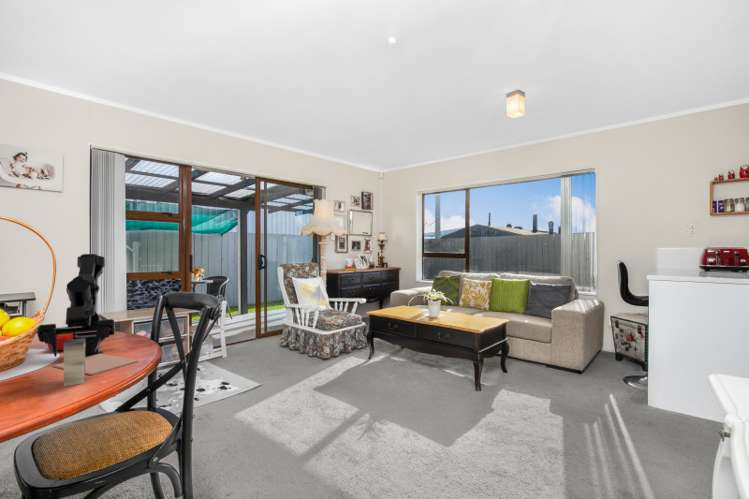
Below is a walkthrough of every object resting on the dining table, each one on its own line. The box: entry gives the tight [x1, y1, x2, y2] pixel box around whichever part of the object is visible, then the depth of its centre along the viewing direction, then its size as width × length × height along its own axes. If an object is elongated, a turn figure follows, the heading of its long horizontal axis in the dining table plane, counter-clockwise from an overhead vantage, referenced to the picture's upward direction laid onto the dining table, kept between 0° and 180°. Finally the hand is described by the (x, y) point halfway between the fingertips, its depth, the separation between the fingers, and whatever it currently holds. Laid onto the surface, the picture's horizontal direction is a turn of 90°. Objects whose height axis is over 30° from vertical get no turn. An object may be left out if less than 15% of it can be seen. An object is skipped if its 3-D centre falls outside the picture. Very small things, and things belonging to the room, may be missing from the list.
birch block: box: [63, 339, 86, 387], centre depth 109 cm, size 4×4×12 cm
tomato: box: [46, 333, 73, 351], centre depth 144 cm, size 10×11×6 cm
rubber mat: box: [52, 353, 139, 377], centre depth 126 cm, size 21×15×1 cm
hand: (75, 353), depth 110 cm, fingers open, 9 cm apart
